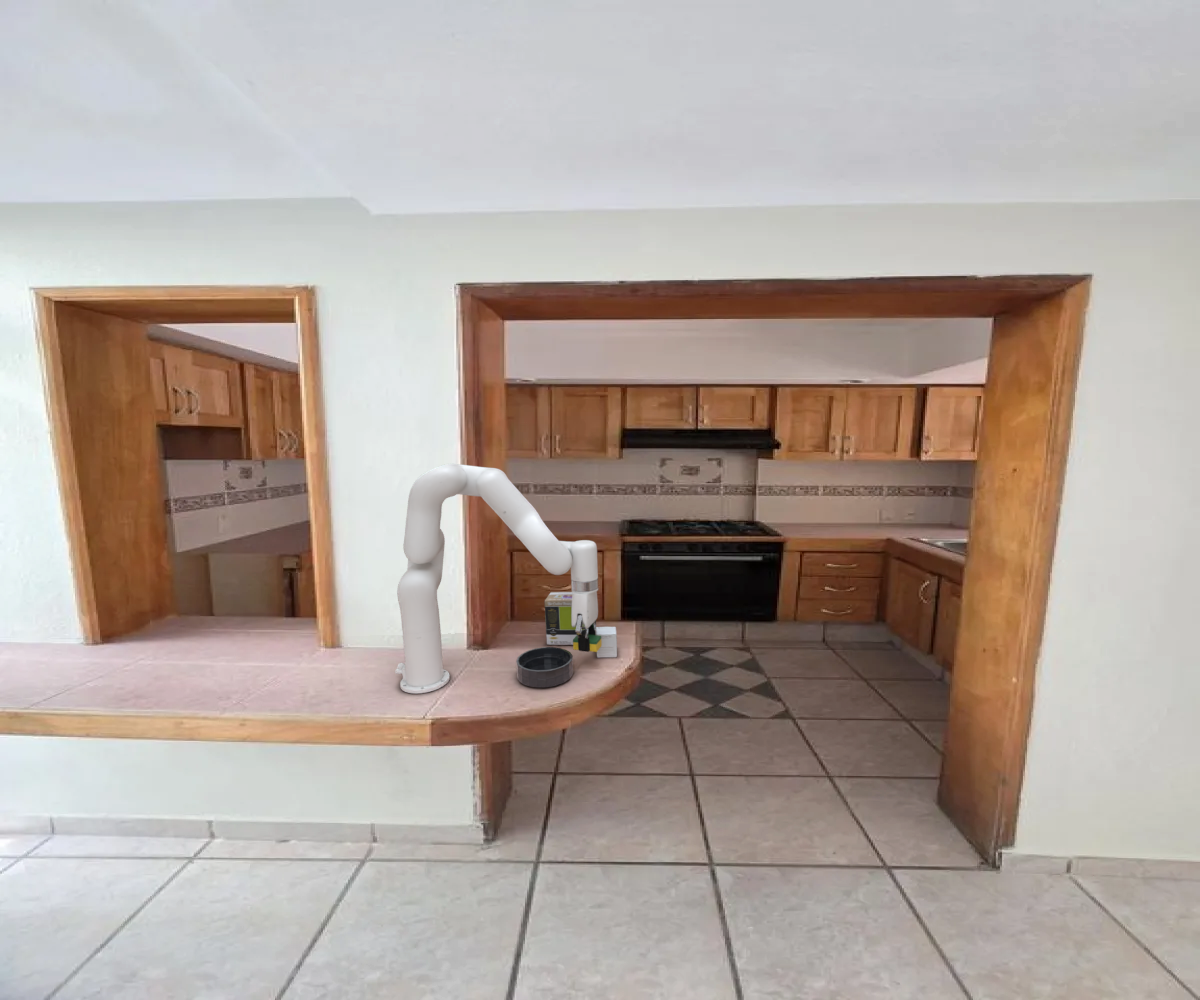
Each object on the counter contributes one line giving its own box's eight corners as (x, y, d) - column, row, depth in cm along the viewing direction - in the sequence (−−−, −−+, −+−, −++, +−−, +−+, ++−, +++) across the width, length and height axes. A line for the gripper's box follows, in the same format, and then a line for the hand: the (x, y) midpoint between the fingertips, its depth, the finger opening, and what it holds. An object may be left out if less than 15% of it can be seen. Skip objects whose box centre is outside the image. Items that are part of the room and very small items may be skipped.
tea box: (596, 634, 165) (595, 590, 163) (593, 646, 155) (591, 600, 153) (552, 633, 166) (550, 590, 165) (545, 645, 156) (543, 600, 155)
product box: (596, 658, 146) (595, 634, 146) (596, 649, 152) (595, 626, 152) (617, 657, 146) (616, 633, 146) (616, 648, 152) (615, 625, 152)
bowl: (507, 685, 131) (506, 667, 131) (532, 660, 146) (531, 644, 145) (560, 692, 127) (559, 674, 126) (580, 666, 141) (580, 650, 140)
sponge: (573, 649, 140) (572, 639, 140) (578, 643, 144) (578, 633, 144) (596, 652, 138) (596, 641, 138) (601, 645, 142) (601, 635, 142)
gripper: (582, 576, 148) (585, 634, 150) (560, 593, 132) (563, 658, 134) (606, 577, 146) (608, 636, 148) (587, 594, 130) (590, 661, 132)
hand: (587, 646), depth 141 cm, fingers closed on sponge, 4 cm apart
